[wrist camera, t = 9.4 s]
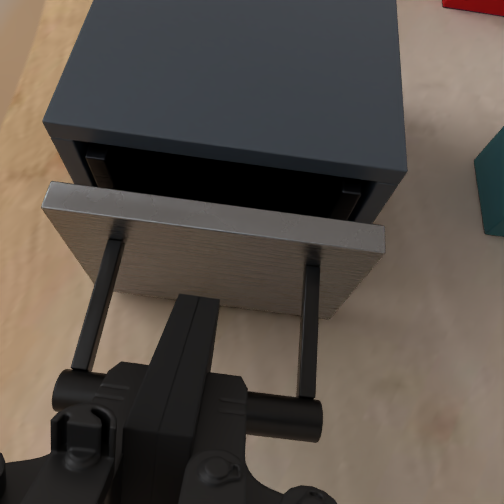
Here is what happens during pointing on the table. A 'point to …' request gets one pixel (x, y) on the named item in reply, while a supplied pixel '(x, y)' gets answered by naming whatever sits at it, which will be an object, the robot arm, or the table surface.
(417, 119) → the table surface
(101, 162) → the drawer
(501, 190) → the block
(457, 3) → the puzzle toy
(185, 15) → the cabinet
